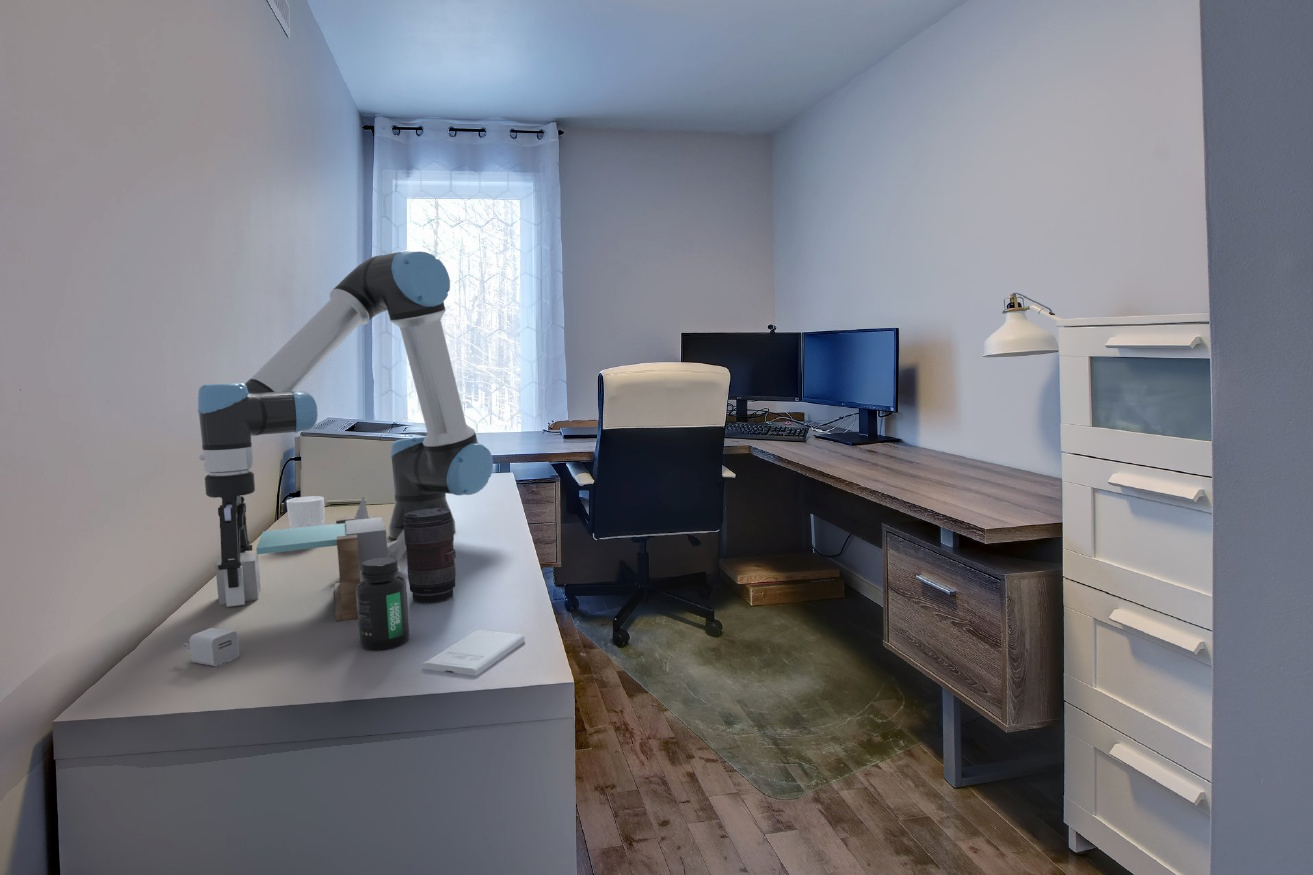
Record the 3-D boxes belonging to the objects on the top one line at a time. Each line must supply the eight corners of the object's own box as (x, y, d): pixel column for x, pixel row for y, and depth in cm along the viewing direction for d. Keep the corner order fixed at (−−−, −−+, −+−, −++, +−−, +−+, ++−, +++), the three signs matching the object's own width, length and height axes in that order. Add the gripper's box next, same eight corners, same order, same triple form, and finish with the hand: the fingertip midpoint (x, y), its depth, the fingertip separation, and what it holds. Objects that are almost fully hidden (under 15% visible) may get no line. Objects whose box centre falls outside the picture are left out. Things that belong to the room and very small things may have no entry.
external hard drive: (525, 645, 110) (476, 680, 98) (475, 639, 113) (422, 673, 101) (524, 634, 110) (475, 668, 98) (475, 629, 113) (422, 661, 101)
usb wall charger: (213, 668, 104) (211, 639, 103) (178, 661, 107) (176, 633, 106) (239, 657, 108) (237, 629, 107) (205, 651, 110) (202, 624, 110)
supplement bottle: (409, 647, 109) (403, 564, 108) (357, 654, 107) (351, 570, 106) (410, 631, 116) (405, 553, 114) (361, 637, 114) (356, 558, 112)
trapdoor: (383, 543, 139) (381, 516, 138) (388, 560, 126) (386, 530, 126) (265, 557, 131) (263, 528, 131) (258, 576, 119) (256, 545, 119)
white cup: (317, 545, 174) (314, 501, 173) (283, 546, 175) (279, 502, 174) (332, 537, 182) (329, 495, 181) (299, 538, 182) (296, 496, 181)
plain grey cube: (260, 590, 140) (257, 553, 139) (258, 599, 134) (254, 560, 134) (223, 595, 138) (219, 557, 137) (218, 604, 132) (215, 565, 131)
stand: (364, 585, 141) (359, 515, 139) (369, 616, 123) (364, 536, 122) (335, 589, 139) (329, 518, 137) (336, 621, 121) (329, 540, 120)
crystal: (408, 575, 147) (403, 498, 145) (335, 581, 144) (329, 503, 143) (414, 562, 156) (409, 489, 155) (345, 568, 154) (339, 494, 152)
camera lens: (442, 587, 138) (437, 505, 136) (466, 596, 132) (461, 510, 131) (400, 598, 132) (394, 512, 131) (423, 608, 127) (417, 518, 125)
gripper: (213, 466, 143) (223, 582, 145) (193, 483, 122) (205, 618, 124) (259, 463, 146) (268, 577, 148) (246, 479, 125) (257, 611, 127)
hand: (239, 596), depth 136 cm, fingers open, 10 cm apart
